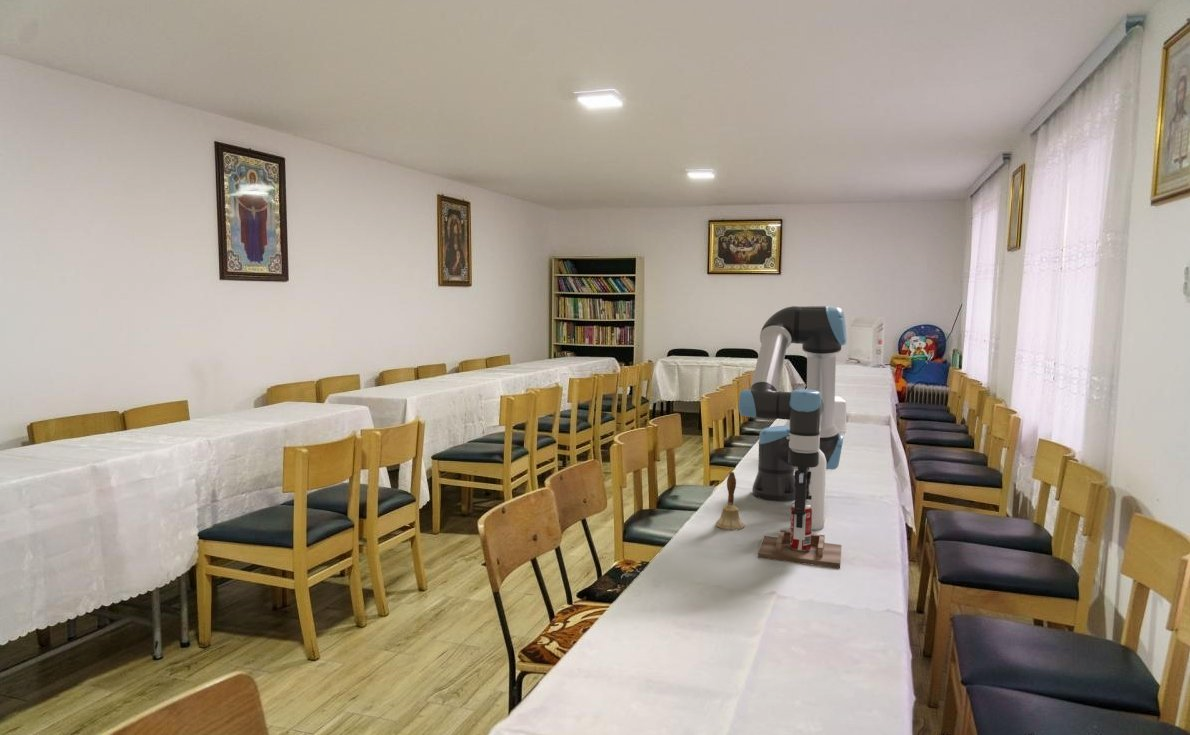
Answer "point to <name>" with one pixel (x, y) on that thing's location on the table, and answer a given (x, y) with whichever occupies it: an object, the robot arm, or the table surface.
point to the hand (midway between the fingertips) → (800, 531)
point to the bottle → (818, 492)
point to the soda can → (805, 544)
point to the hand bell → (730, 508)
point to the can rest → (816, 555)
